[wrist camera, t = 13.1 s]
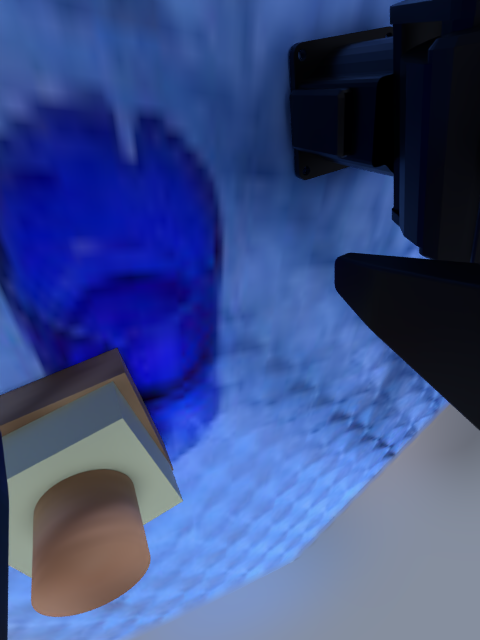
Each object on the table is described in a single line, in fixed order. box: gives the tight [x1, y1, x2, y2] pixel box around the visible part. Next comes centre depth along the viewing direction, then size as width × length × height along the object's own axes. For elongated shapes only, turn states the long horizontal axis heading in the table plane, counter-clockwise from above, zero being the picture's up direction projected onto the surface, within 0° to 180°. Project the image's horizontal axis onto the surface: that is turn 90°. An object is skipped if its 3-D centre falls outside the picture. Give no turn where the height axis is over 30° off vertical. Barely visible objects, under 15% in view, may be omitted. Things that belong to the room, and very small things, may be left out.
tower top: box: [2, 381, 183, 578], centre depth 20 cm, size 9×9×3 cm
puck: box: [31, 469, 150, 617], centre depth 18 cm, size 5×5×4 cm
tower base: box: [0, 348, 173, 470], centre depth 23 cm, size 10×10×3 cm
